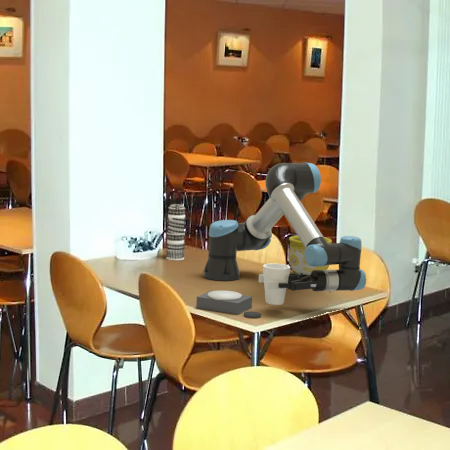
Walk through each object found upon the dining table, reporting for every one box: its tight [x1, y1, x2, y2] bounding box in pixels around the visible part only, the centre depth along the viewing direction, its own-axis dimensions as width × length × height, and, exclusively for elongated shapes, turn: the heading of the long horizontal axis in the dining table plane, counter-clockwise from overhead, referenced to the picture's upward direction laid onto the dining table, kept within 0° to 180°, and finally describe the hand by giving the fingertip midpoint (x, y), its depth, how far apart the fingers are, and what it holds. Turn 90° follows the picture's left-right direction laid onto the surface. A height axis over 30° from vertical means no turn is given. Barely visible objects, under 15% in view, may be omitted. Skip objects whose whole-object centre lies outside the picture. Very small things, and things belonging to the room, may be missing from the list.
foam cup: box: [262, 262, 291, 306], centre depth 287 cm, size 10×9×13 cm
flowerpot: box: [287, 235, 333, 276], centre depth 349 cm, size 18×18×16 cm
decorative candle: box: [165, 203, 187, 261], centre depth 376 cm, size 9×9×25 cm
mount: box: [196, 290, 253, 315], centre depth 291 cm, size 16×12×5 cm
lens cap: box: [243, 310, 262, 319], centre depth 281 cm, size 6×6×1 cm
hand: (263, 281), depth 285 cm, fingers closed on foam cup, 9 cm apart
